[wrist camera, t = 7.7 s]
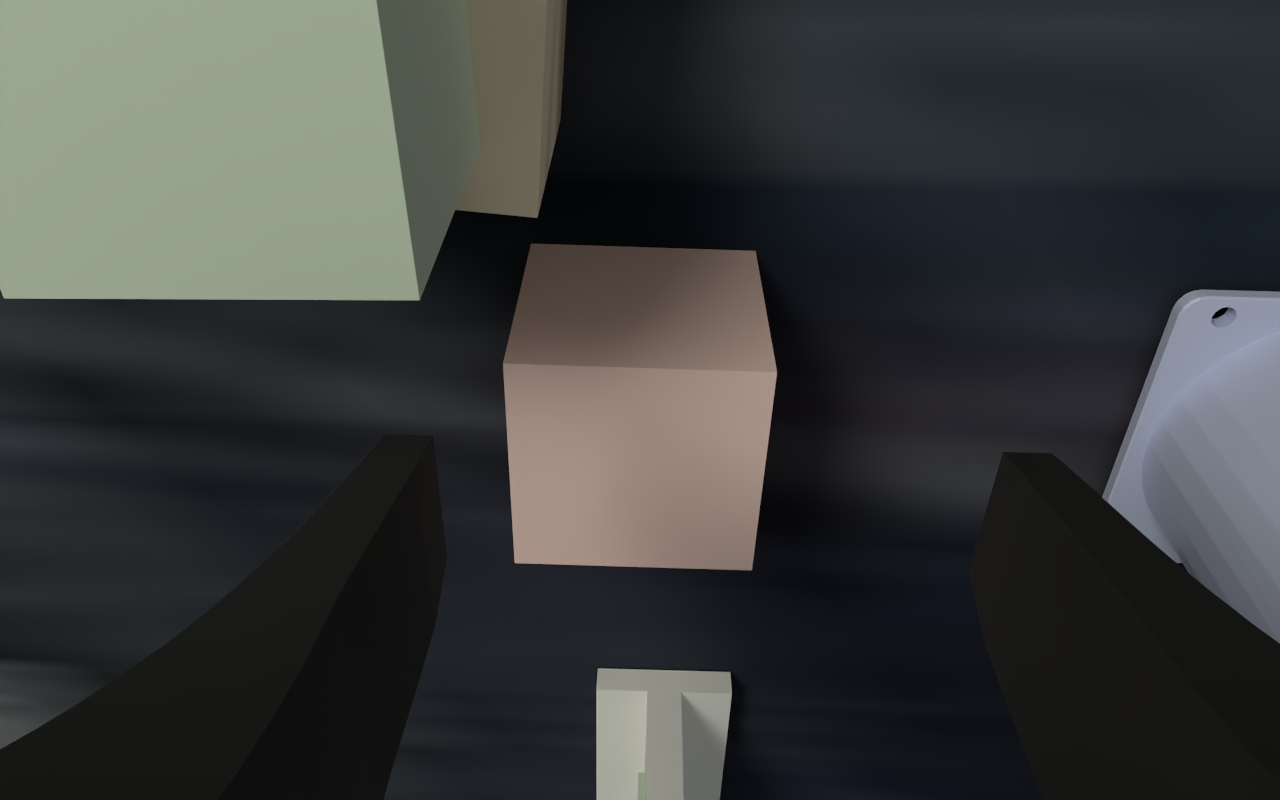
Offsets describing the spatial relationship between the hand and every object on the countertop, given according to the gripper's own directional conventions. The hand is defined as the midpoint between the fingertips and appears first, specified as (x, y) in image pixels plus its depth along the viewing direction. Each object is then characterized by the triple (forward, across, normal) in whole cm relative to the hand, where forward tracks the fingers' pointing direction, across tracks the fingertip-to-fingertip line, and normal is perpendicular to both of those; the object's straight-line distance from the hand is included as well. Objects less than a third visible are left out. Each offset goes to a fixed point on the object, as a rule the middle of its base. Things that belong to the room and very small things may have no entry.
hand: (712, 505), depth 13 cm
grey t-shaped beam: (+10, 0, +19) cm, 22 cm away
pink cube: (+10, +1, +4) cm, 11 cm away
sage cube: (+6, +6, -5) cm, 10 cm away
